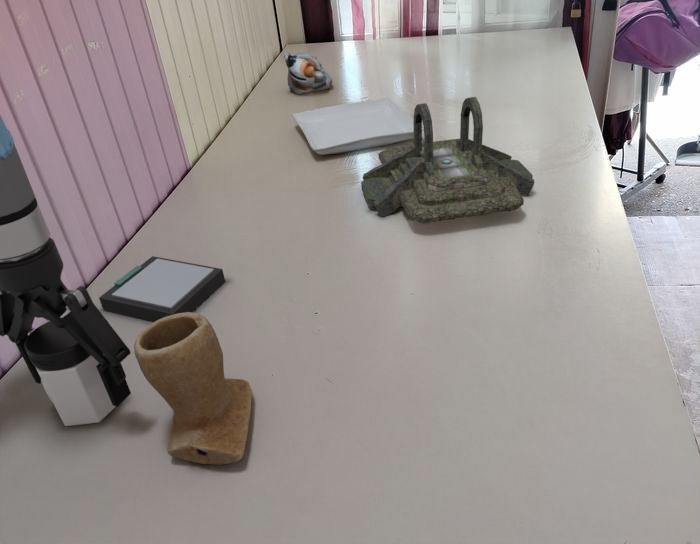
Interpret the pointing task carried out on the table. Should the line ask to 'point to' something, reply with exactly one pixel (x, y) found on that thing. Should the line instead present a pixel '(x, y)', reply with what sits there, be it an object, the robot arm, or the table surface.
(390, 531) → the table surface
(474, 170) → the grey stone stepped platform
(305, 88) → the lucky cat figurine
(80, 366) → the jar
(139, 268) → the scale
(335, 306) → the table surface
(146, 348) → the clay smoking pipe
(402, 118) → the square plate
